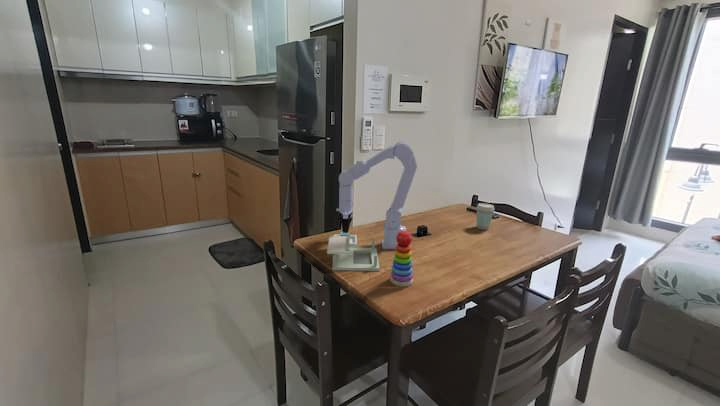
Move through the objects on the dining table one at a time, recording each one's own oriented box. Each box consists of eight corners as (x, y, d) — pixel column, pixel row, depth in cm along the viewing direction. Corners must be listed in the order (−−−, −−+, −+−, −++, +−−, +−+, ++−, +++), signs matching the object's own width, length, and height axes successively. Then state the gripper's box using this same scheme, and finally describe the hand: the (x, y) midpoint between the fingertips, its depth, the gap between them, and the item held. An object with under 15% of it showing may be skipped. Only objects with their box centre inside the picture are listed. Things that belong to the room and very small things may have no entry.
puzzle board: (376, 251, 140) (376, 238, 138) (379, 271, 122) (380, 257, 121) (334, 250, 139) (335, 237, 138) (332, 270, 122) (332, 256, 120)
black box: (426, 231, 166) (427, 222, 165) (437, 236, 160) (438, 227, 159) (406, 235, 160) (407, 225, 159) (416, 240, 154) (417, 230, 153)
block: (349, 240, 149) (349, 231, 148) (349, 243, 145) (349, 234, 144) (340, 239, 149) (340, 231, 148) (339, 243, 145) (340, 234, 144)
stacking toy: (387, 276, 119) (390, 226, 114) (410, 276, 120) (414, 226, 115) (391, 288, 112) (395, 235, 107) (415, 287, 112) (420, 235, 107)
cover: (349, 238, 136) (349, 235, 136) (349, 254, 122) (349, 250, 122) (329, 237, 136) (329, 234, 136) (326, 253, 122) (326, 250, 121)
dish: (356, 238, 152) (356, 234, 151) (356, 247, 142) (356, 243, 142) (334, 238, 152) (334, 234, 151) (332, 247, 142) (333, 243, 142)
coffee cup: (493, 227, 172) (496, 204, 169) (489, 232, 165) (492, 208, 162) (476, 223, 177) (479, 201, 173) (471, 228, 170) (474, 205, 166)
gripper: (337, 194, 148) (337, 223, 152) (335, 203, 134) (335, 235, 138) (353, 194, 149) (352, 223, 152) (353, 203, 135) (352, 235, 138)
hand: (345, 229), depth 145 cm, fingers open, 7 cm apart
